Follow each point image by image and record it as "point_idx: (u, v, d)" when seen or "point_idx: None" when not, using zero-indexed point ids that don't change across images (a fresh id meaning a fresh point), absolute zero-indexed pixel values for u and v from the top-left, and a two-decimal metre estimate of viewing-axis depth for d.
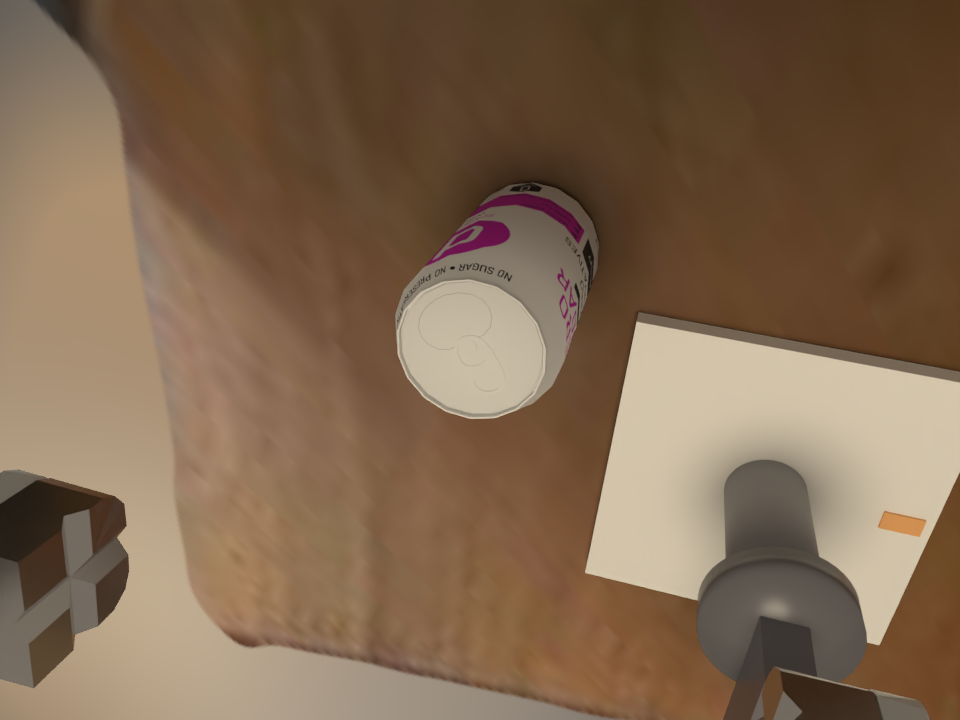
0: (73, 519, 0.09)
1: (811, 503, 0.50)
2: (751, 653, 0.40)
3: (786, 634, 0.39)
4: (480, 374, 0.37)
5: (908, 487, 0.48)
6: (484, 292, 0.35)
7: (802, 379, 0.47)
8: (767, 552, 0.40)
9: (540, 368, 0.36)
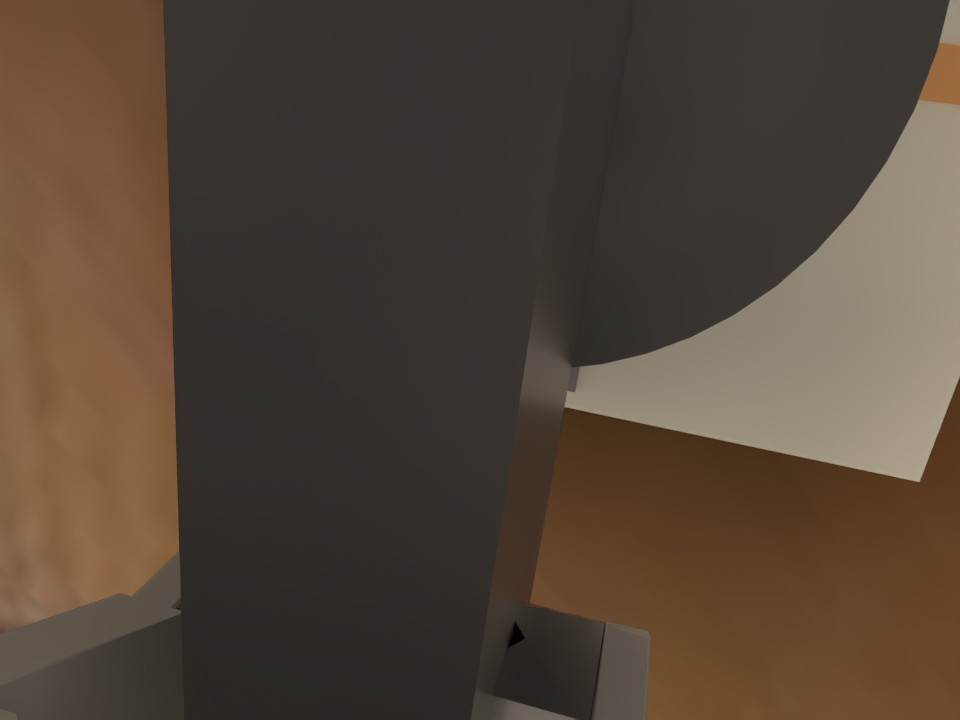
0: None
1: None
2: None
3: None
4: None
5: None
6: None
7: None
8: None
9: None
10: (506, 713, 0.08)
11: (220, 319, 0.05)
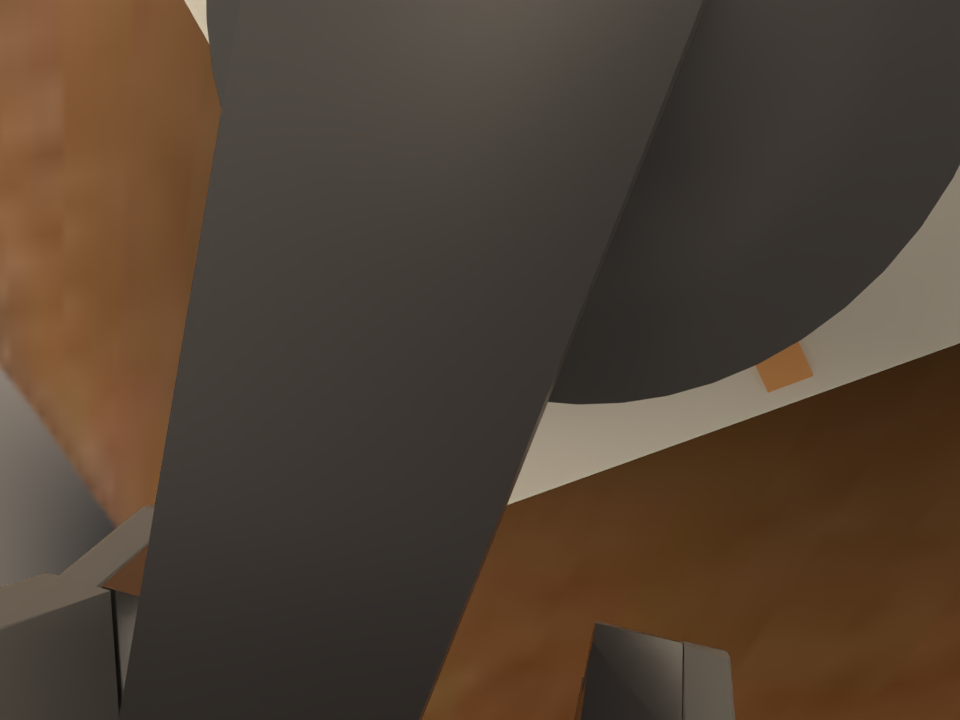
0: None
1: None
2: None
3: None
4: None
5: None
6: None
7: None
8: None
9: None
10: None
11: (233, 341, 0.05)
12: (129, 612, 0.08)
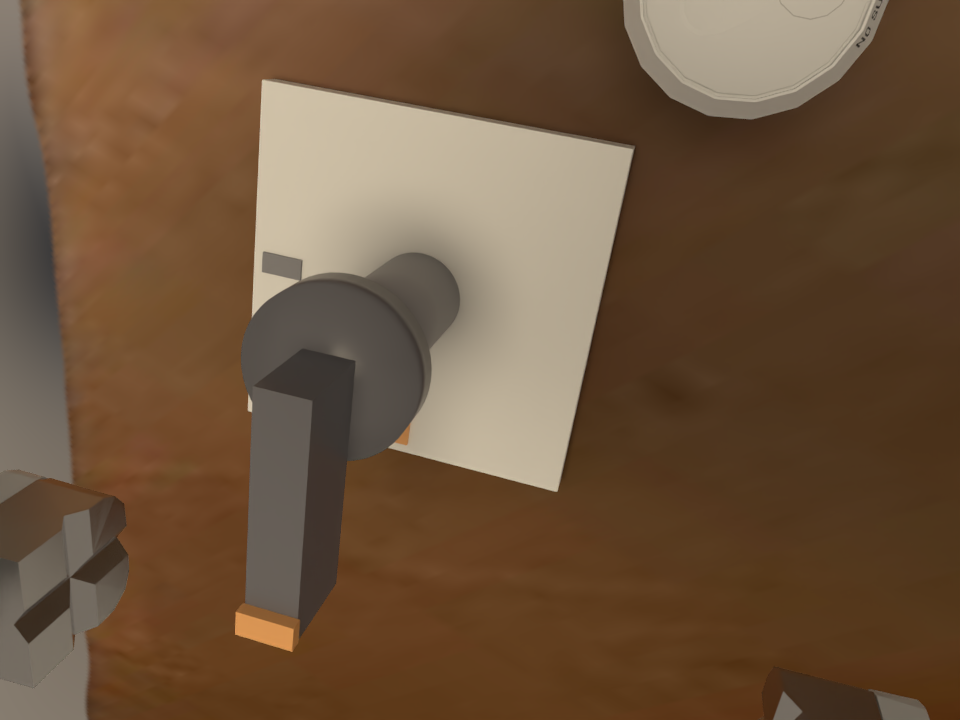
0: (73, 519, 0.09)
1: None
2: None
3: (320, 361, 0.33)
4: None
5: (442, 427, 0.48)
6: (851, 9, 0.24)
7: (561, 329, 0.44)
8: (316, 275, 0.34)
9: (720, 91, 0.25)
10: None
11: (258, 463, 0.31)
12: None
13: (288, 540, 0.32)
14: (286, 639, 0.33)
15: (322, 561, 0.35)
